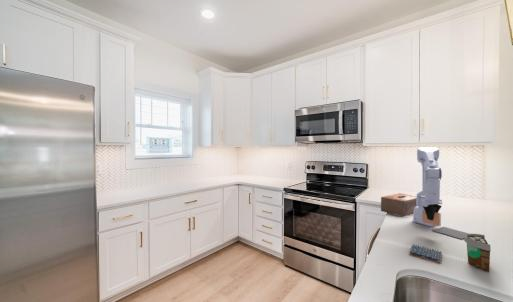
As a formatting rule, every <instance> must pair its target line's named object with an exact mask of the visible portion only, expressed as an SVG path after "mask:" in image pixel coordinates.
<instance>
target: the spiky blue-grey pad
mask: <svg viewBox="0 0 513 302" xmlns="http://www.w3.org/2000/svg"><path fill="white" fill-rule="evenodd" d="M409 249H410V250H409V252H408V254H409V255H410V256H412V257H416V258H419V259H423V260H427V261H430V262H434V263H438V264H442V262H443V252H442V251H441V250H438V249H437V250H436V249H434V248H432V249H431V248H429V247H426V246H422V245H417V244H415V243H413V244H412V245H411V248H409Z"/></svg>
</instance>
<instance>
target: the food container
mask: <svg viewBox="0 0 513 302" xmlns="http://www.w3.org/2000/svg"><path fill="white" fill-rule="evenodd" d="M485 236H486V235H485V234H481V233H469V234H467V235H466V236H465V239H463V241H464V242H465V243H466V251H467V255H466V256H467V263H468V264H469V265H471V267H474V268H475V269H479V270H480V271H484V272H487V273H490V264H491V263H490V262H491V261H490V260H491V250H492V249H491V244H489V243H488V241H487V240H486V237H485Z"/></svg>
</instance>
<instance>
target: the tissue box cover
mask: <svg viewBox="0 0 513 302" xmlns="http://www.w3.org/2000/svg"><path fill="white" fill-rule="evenodd" d="M416 197H417V195H412V194H406V193H402V192H401V193H400V192H398V193H395V194H393V193H392V194H389V195H384V196H381V197H380V212H384V213H387V214H391V215H395V216H399V217H403V218H404V217H406V216H411V215H413V212H414V208H415V207H416V206H417V205H416Z"/></svg>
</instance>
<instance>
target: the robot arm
mask: <svg viewBox="0 0 513 302" xmlns="http://www.w3.org/2000/svg"><path fill="white" fill-rule="evenodd" d="M439 157H440V149H439V148H438V147H418V148H417V151H416V160H417V162H418V163H420V164H421V167H422V171H421V173H422V175H421V177H422V180H421V181H422V190H421V191H419V192H417V193H416V196H417V197H416V205H417V206H416V207H415V208H414V212H413V214H412V215H413V216H412V217H413V220H412V222H413V223H417V224H420V225H424V226H428V227H435V226H436V225H432V224H428V223H425V222H422V214H423V210H425V212H426V215H427V219H429V220H433V219H434V214H435V212H437V213H439V211H440V210H441V209H442V204H443V200H442V199H440V195H441V194H440V193H441V190H440V189H441V180H442V177H443V175H442V173H443V171H442V168H441V167H440V166H439V161H438V160H439Z"/></svg>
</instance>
